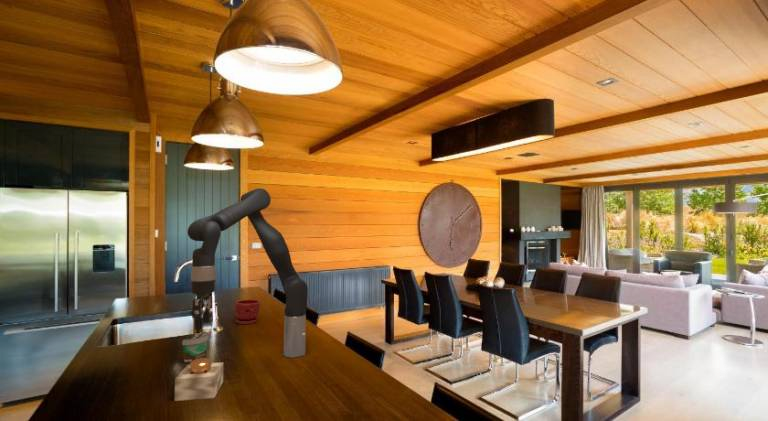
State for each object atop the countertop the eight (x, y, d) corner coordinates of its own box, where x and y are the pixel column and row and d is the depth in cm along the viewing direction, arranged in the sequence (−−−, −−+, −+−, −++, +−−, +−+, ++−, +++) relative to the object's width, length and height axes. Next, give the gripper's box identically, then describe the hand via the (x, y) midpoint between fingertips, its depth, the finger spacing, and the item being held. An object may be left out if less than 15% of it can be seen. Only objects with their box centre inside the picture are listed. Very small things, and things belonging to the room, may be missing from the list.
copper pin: (212, 384, 128) (213, 357, 128) (207, 393, 121) (208, 364, 122) (193, 386, 126) (193, 358, 127) (187, 394, 120) (187, 365, 120)
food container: (194, 366, 145) (195, 341, 145) (181, 364, 146) (182, 339, 146) (215, 355, 157) (215, 331, 157) (202, 354, 158) (203, 330, 158)
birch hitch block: (223, 381, 131) (223, 362, 131) (214, 397, 119) (214, 376, 119) (187, 384, 128) (187, 364, 129) (174, 401, 117) (175, 379, 117)
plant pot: (254, 325, 202) (255, 304, 202) (231, 325, 202) (231, 303, 202) (262, 319, 215) (263, 299, 215) (240, 319, 215) (241, 298, 215)
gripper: (209, 281, 119) (208, 331, 118) (220, 275, 133) (219, 319, 132) (184, 282, 117) (183, 332, 117) (197, 275, 131) (196, 320, 131)
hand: (202, 325), depth 125 cm, fingers open, 8 cm apart
